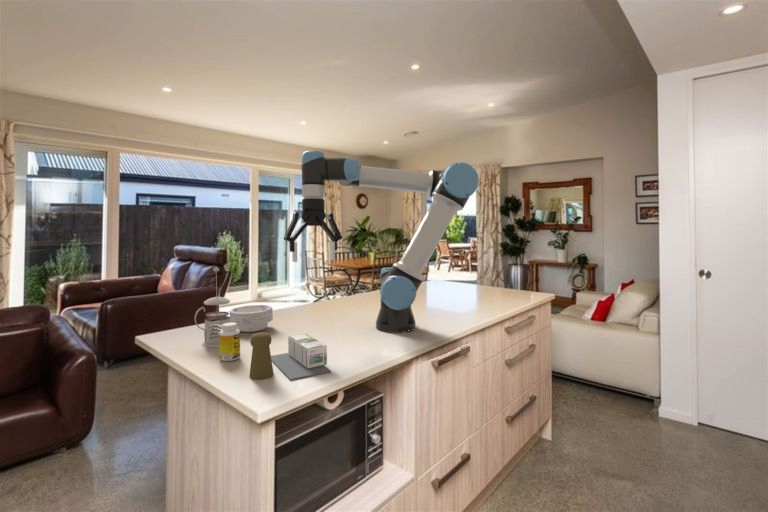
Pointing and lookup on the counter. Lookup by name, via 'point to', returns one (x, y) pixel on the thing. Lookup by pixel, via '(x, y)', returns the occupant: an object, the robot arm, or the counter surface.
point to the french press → (210, 335)
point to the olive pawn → (261, 356)
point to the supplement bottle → (229, 342)
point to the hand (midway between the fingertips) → (314, 260)
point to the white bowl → (251, 317)
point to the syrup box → (307, 350)
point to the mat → (296, 367)
